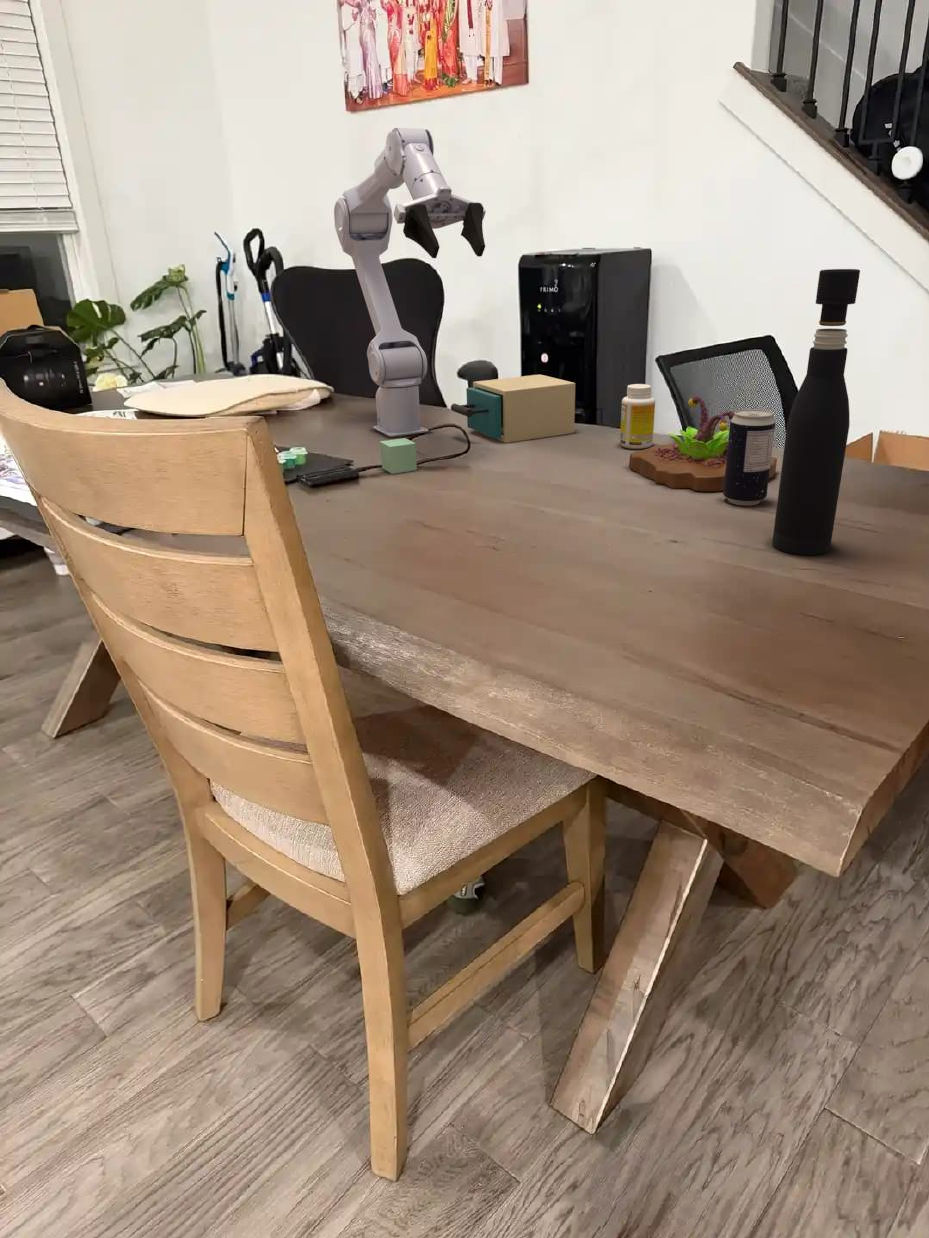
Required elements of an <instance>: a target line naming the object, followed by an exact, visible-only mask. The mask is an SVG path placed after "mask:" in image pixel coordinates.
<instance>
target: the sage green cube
mask: <svg viewBox="0 0 929 1238" xmlns="http://www.w3.org/2000/svg"><path fill="white" fill-rule="evenodd" d="M379 444H380V456H381V457H380V458H381V469H383V470H385V471H386V472H388V473H389V474H391V475H396V474H401V473H408V472H415V471H418V460H417V444H416V442H414V441H412V440H410V439H408V438H406V437H403V438H396V439H389V440H388V439H387V440H380V441H379Z"/></svg>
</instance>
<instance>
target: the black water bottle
mask: <svg viewBox="0 0 929 1238" xmlns="http://www.w3.org/2000/svg"><path fill="white" fill-rule="evenodd" d="M818 273H819V274H818V282H817V289H816V297H815V298H816V299H815V304H816V305H821V312H820V317H819V318H820V319H819V320H818V324H819V325H820V326H822V327H841V326H845V325H846V324H847V315H848V306H849V305H854V304H856V302H857V301H856V300H857V294H858V288H859V280H860V274H861V270H860V269H857V268H831V269H828V268H827V269H820V271H819V272H818ZM847 331H848V329H846V328H817V329H816V330H815V333H814V334H813V337H814V340H812V344H813V346H812V347H811V348H810V349H809V353H808V362H807V368H806V375H805V377H804V379H803V381H802V383H801V385H800V387H799V389H798V391H797V393H796V395H795V398H794V401H793V403H792V406H791V410H790V413H789V416H788V419H787V423H786V430H785V439H784V447H783V455H782V461H781V462H782V463H781V471H780V479H779V486H778V495H777V501H776V509H775V516H774V517H775V518H774V527H773V533H772V541H771V545H772V546H773V548H775V549H776V550H778V551H780V552H783V553H786V554H791V555H797V556H819V555H823V554H826V553H828V552H829V551H830V550H831V545H832V539H833V534H834V533H833V532H834V526H835V520H836V513H837V507H838V501H839V495H840V488H841V483H842V482H841V481H842V475H843V469H844V462H845V457H846V450H847V443H848V438H849V437H848V436H849V432H850V431H849V430H850V399H849V394H848V390H847V383H846V378H845V372H846V371H845V369H846V363H847V357H848V351H849V350H848V348H847V347H845V345H846V344H847V340H846V339H847V338H848V336H849V334H847Z"/></svg>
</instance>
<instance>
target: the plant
mask: <svg viewBox="0 0 929 1238" xmlns="http://www.w3.org/2000/svg"><path fill="white" fill-rule="evenodd" d="M687 403H688V406H689V407H690V408H696V407H697V406H698V404H699V407H700V417H699V418H700V422H699V428H698V429H697V428H695V427H692V426H688V427H687V428H686V429H685V430H683V429H679V433H680V435H681V436H682V438H683V439H684V441H683V440H682V438H680V437H679V436H678V435H676V434H673V433H668V435H669V436H670V437H671V439H673V440H674V441H675V442H674V443H666V444H660V445H652V446H650V447H648V448H644V449H639V450H637V451H635V452H631V453H630V454H629V461H628V467H629V468H630V469H631V471H633V472H636V473H638V474H640V475H641V476H643V477H644V478H647V479H649V480H653V481H655V484H658V485H659V484H660V485H665V486H667V487H669V488H671V489H692V490H693V491H695V492H723V490H724V480H725V470H726V460H727V450H728V440H727V439H728V438H729V429H730V428H729V424H728V421H727V419H726V418H725V417H728V420H729V421H731V420H732V418H733V417H734V415H735V414H734V412H735V411H731V410H730V411H724V412H720V413H719V414H715V415H713V416H712V417H710V419H709V417H708V416H709V414H708V409H707V407H706V403H705V401H704V400H703V398H702V397H699V396H697V395H696V396H692V397H691V398H690V399H689V400H688V402H687ZM718 424H719V425H718ZM717 425H718V429H719V431H718V432H716V433H715V431H716V427H717ZM777 462H778V458H777V457H773V456H771V464H770V472H769V479H771V478H773V477H774V475H775V473H776V470H777Z"/></svg>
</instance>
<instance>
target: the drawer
mask: <svg viewBox="0 0 929 1238" xmlns="http://www.w3.org/2000/svg"><path fill="white" fill-rule="evenodd" d="M450 410H451V411H452V412H454V413H457V414H460V415H462V416H465V417H466V421H467V428H468V429H471V430H473V431H475V430H476V431H475V432H477V431H478V433H480V432H481V433H480V434H482V433H483V434H482V435H485V434H486V435H485V436H487V435H488V437H490V436H491V437H490V438H492V437H493V438H492V439H495V438H501V433H503V395H500V394H497V393H494V392H491V391H487V390H484V389H481V388H480V390H478V389H475V388H473V387H466V404H457V403H452V404H451V405H450Z"/></svg>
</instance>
